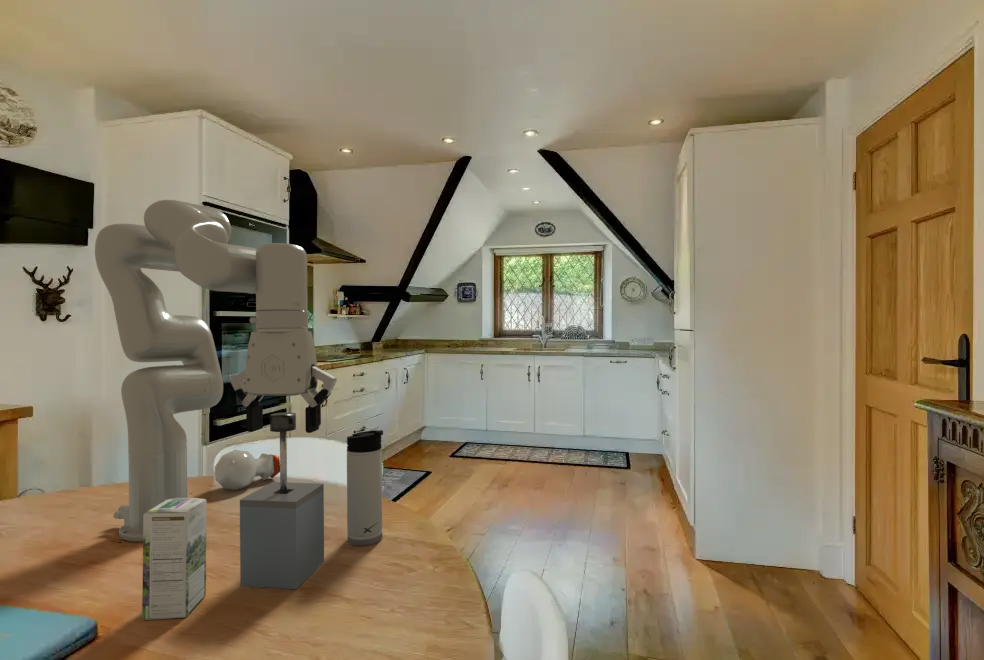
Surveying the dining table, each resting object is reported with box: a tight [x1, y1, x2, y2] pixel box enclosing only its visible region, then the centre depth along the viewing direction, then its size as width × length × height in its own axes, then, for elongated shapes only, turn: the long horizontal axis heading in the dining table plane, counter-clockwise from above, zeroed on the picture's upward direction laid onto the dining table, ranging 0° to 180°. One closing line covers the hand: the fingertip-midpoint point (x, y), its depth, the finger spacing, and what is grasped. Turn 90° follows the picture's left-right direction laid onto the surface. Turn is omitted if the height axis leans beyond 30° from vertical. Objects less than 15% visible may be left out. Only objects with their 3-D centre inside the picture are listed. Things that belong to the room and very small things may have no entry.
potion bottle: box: [214, 449, 280, 491], centre depth 127 cm, size 9×10×15 cm
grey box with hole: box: [239, 481, 325, 590], centre depth 81 cm, size 9×9×13 cm
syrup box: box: [141, 497, 207, 621], centre depth 71 cm, size 6×6×14 cm
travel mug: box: [346, 429, 384, 547], centre depth 94 cm, size 6×7×20 cm
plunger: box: [269, 411, 297, 494], centre depth 81 cm, size 6×6×15 cm
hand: (283, 430), depth 81 cm, fingers open, 9 cm apart
